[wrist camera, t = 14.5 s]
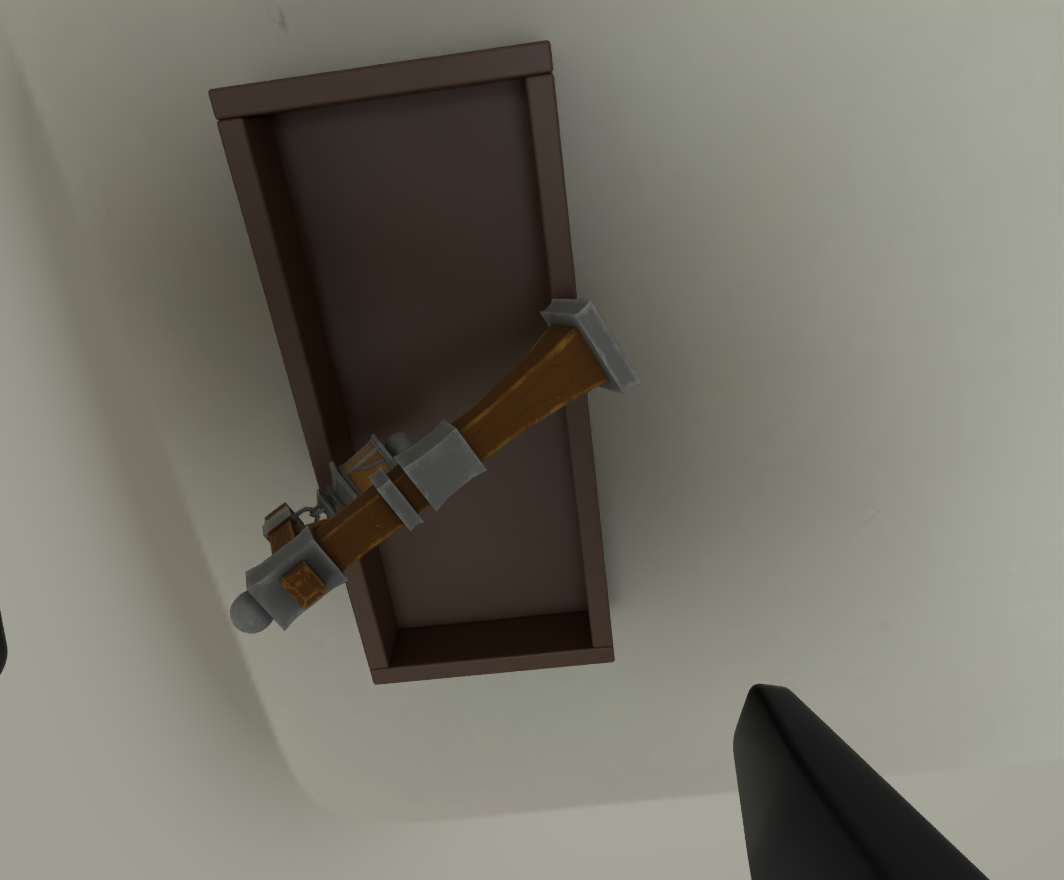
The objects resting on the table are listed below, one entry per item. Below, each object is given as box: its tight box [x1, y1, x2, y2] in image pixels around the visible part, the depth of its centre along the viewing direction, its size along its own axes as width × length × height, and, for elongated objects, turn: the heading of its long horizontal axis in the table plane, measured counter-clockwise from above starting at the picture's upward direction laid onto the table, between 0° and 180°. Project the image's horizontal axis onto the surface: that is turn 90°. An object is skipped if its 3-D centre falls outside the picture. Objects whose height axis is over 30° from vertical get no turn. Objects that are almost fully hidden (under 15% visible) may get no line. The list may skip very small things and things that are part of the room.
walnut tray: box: [209, 40, 615, 685], centre depth 17 cm, size 14×6×2 cm, turn 7°
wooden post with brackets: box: [230, 299, 642, 633], centre depth 14 cm, size 2×8×4 cm, turn 122°
